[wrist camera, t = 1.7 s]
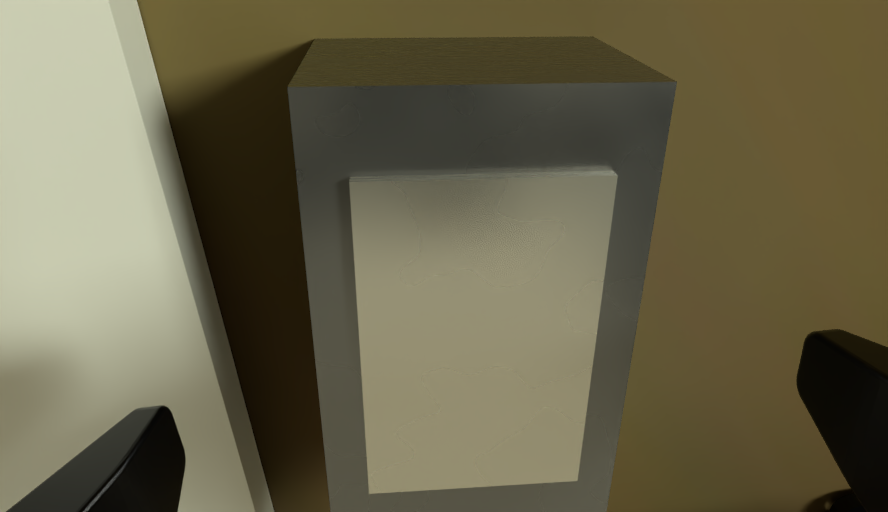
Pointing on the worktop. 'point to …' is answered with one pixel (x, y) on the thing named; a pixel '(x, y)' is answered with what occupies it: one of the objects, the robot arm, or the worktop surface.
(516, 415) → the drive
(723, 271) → the worktop surface
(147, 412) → the robot arm
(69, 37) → the white peg board
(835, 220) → the worktop surface
